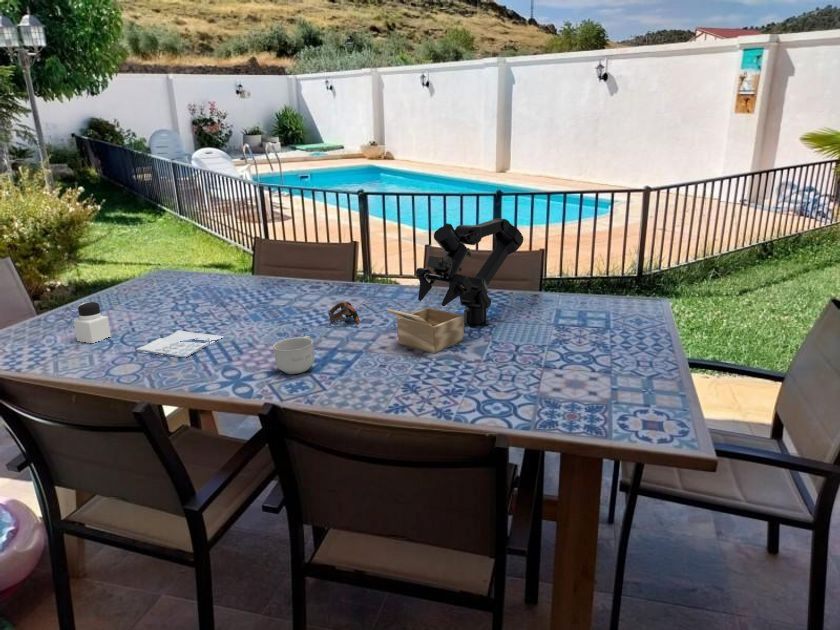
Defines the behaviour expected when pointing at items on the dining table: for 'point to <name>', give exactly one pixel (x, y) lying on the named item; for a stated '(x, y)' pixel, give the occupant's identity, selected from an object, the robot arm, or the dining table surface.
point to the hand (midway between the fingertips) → (430, 303)
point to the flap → (409, 317)
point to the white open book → (179, 344)
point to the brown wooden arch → (343, 312)
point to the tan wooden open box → (431, 330)
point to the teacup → (294, 354)
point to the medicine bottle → (91, 323)
